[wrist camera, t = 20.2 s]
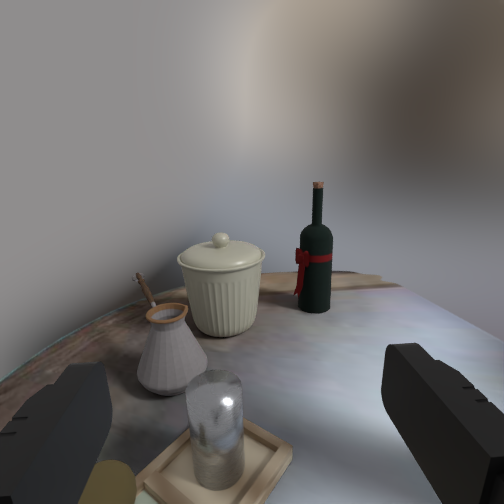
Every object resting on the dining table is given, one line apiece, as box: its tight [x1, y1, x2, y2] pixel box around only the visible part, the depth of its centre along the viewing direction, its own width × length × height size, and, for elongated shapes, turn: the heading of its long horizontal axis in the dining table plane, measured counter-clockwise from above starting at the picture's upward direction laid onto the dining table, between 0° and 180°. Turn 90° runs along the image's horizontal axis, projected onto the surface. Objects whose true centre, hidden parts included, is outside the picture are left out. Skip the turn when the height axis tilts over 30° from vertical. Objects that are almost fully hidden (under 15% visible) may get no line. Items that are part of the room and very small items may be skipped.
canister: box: [177, 233, 265, 337], centre depth 67 cm, size 18×18×21 cm
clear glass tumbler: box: [186, 370, 245, 491], centre depth 36 cm, size 6×6×11 cm
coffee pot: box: [132, 273, 208, 396], centre depth 55 cm, size 21×12×15 cm, turn 35°
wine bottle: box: [293, 182, 333, 313], centre depth 73 cm, size 8×10×30 cm
